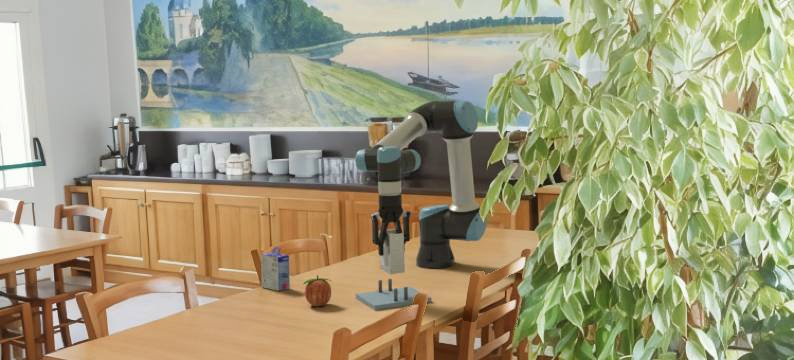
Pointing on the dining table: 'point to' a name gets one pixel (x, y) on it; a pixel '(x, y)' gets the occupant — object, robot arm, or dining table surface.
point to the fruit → (317, 291)
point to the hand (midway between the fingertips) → (392, 263)
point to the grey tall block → (394, 252)
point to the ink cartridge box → (275, 270)
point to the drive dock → (388, 297)
